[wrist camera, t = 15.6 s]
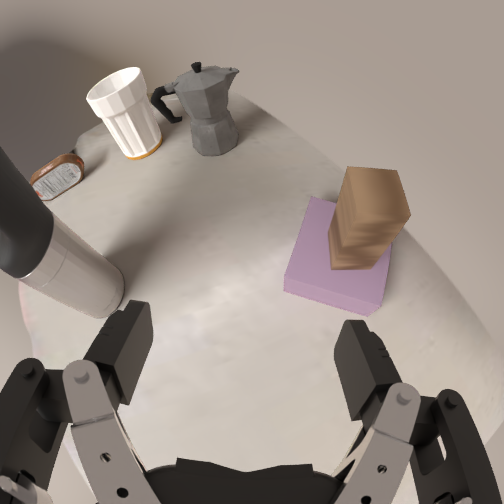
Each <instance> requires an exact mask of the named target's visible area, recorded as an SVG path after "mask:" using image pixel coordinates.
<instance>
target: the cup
mask: <svg viewBox="0 0 504 504" xmlns="http://www.w3.org/2000/svg"><path fill="white" fill-rule="evenodd" d="M146 88H147V87H146V83H145V81H144V78H143V75H142V72H141V69H140V68H137V67H132V68H126V69H123V70H120V71H118V72H115V73H113V74H111V75H109V76H108V77H106V78H104V79H103V80H101V81H100V82H99V83H97V84H96V85H95V86H94V87H93V88H92V89H91V90H90V92H89V93H88V95H87V98H86V99H87V101H88V103H89V104H90V106H91V107H92V109H93V110H94V112H95V114H96V115H97V116H98V117H101V118H102V119H103V121H104V123H105V124H106V126H107V128H108V129H109V131H110V132H111V134H112V136H113V137H114V139H115V140H116V142H117V143H118V145H119V146H120V148H121V150H122V151H123V153H124V154H125V156H126V157H127V158H128V159H132V160H136V159H141V158H144V157H146V156H148V155H150V154H151V153H153V152H154V151H155V150H156V149H157V148H158V147H159V146H160V145H161V142H162V134H161V132H160V129H159V126H158V124H157V121H156V119H155V116H154V113H153V111H152V108H151V105H150V103H149V100H148V97H147V95H146V91H147V89H146Z"/></svg>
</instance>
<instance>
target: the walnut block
mask: <svg viewBox="0 0 504 504" xmlns="http://www.w3.org/2000/svg"><path fill="white" fill-rule="evenodd" d="M410 216H411V214H410V210H409V207H408V203H407V200H406V197H405V193H404V190H403V188H402V184H401V181H400V178H399V175H398V172H397V171H396V170H386V169H375V168H362V167H347V170H346V173H345V177H344V180H343V184H342V187H341V191H340V194H339V198H338V201H337V204H336V207H335V211H334V214H333V217H332V220H331V223H330V227H329V230H328V241H329V252H330V264H331V270H371V268H372V267H373V266H374V265H375V263H376V262H377V261H378V260H379V258H380V257H381V256H382V254H383V253H384V252H385V250H386V249H387V248H388V246H389V245H390V244H391V242H392V241H393V240H394V238H395V237H396V236H397V234H398V233H399V232H400V230H401V229H402V227H403V226H404V225H405V223H406V222H407V220H408V219H409V217H410Z"/></svg>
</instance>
